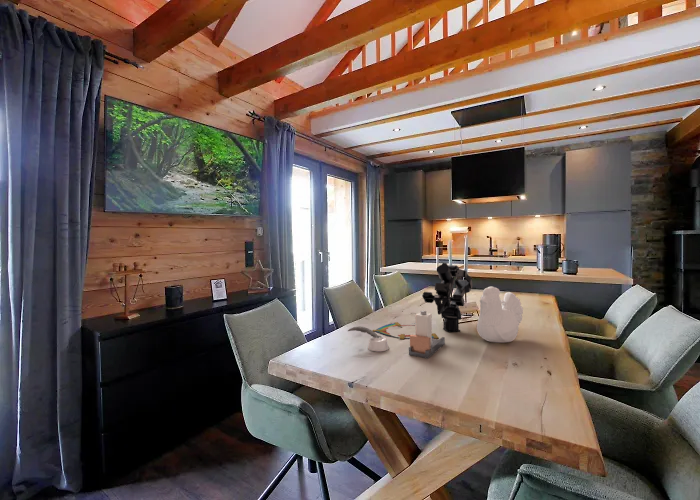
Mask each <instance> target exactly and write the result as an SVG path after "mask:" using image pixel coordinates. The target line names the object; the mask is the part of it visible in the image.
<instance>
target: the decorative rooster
mask: <svg viewBox="0 0 700 500" xmlns="http://www.w3.org/2000/svg"><path fill="white" fill-rule="evenodd" d="M500 295H501V291H500V289H499V288H497V287H495V286H488V287H486V288H484V289H483V291H482V295H481V297H480V299H479V304H480V306H479V307H480V309H479V316H478V319H477V324H476V331H477V333H478V335H479V336H480V338H482V339H483V340H485V341H487V342H491V343H511V342H512V341H514V340H515V339H516V338H517V336H518V333H519V328H520V327H519V326H520V323H522V321H523V314H524V308H523V306H522V303H521V299H520V298H518V297H517V296H516V295H517V294H514V293H513V292H510V291H508V292H507V291H506V292H505V293H504V295H503V299H501V298H500Z"/></svg>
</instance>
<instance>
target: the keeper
mask: <svg viewBox="0 0 700 500" xmlns="http://www.w3.org/2000/svg"><path fill="white" fill-rule="evenodd" d="M432 314H433V313H429V312H427V311H426V310H420V311H419V312H418V313H416V314H415V316H414V317H415V318H414V319H415V324H414V325H415V335H418V336H424V337H430V338H431V346H432V339H433V338H432V333H433V332H432V331H433V328H432V325H433V324H432V320H433V319H432Z"/></svg>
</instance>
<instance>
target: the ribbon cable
mask: <svg viewBox="0 0 700 500" xmlns="http://www.w3.org/2000/svg"><path fill="white" fill-rule="evenodd" d="M402 326H403V327H406V326H408V327H409V326H410V327H411V326H415V323H413V324H406V325H405V324H403V325H402V324H401V323H399V322H398V321H396V322H393V323H388V324H384V325H382V326H381V327H378V328H376V329H372V331H373V332H375V333H379V334H382V335H385V336H388V337H391V338H396V336H393V335H392V334H390V333H389V332H387V330H388V329H389V328H395V327H402ZM410 335H411V334H406V333H400V334H397V336H398V337H397V339H399V340H405V339H409V340H410ZM432 339H437V340H439V339H440V337H439V336H438V335H437V334H436V332H435V333H433V332H432Z"/></svg>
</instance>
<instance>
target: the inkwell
mask: <svg viewBox="0 0 700 500" xmlns="http://www.w3.org/2000/svg"><path fill="white" fill-rule="evenodd" d="M351 331H353V332H354V331H356V332H361V333H364V334H365V333H366V334H368V335H370V336H371V337H370V338H369V340H368V345H367V350H369V351H372V352H380V353H381V352H385V351H388V350H389V349H390V347H389V343H388V340H387V338H386V337H384V335H383V334H382V335H381V334H377V332H373V329H370V328H367V327H365V326H354V327H351V328H349V329H348V330H347V332H351Z"/></svg>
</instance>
